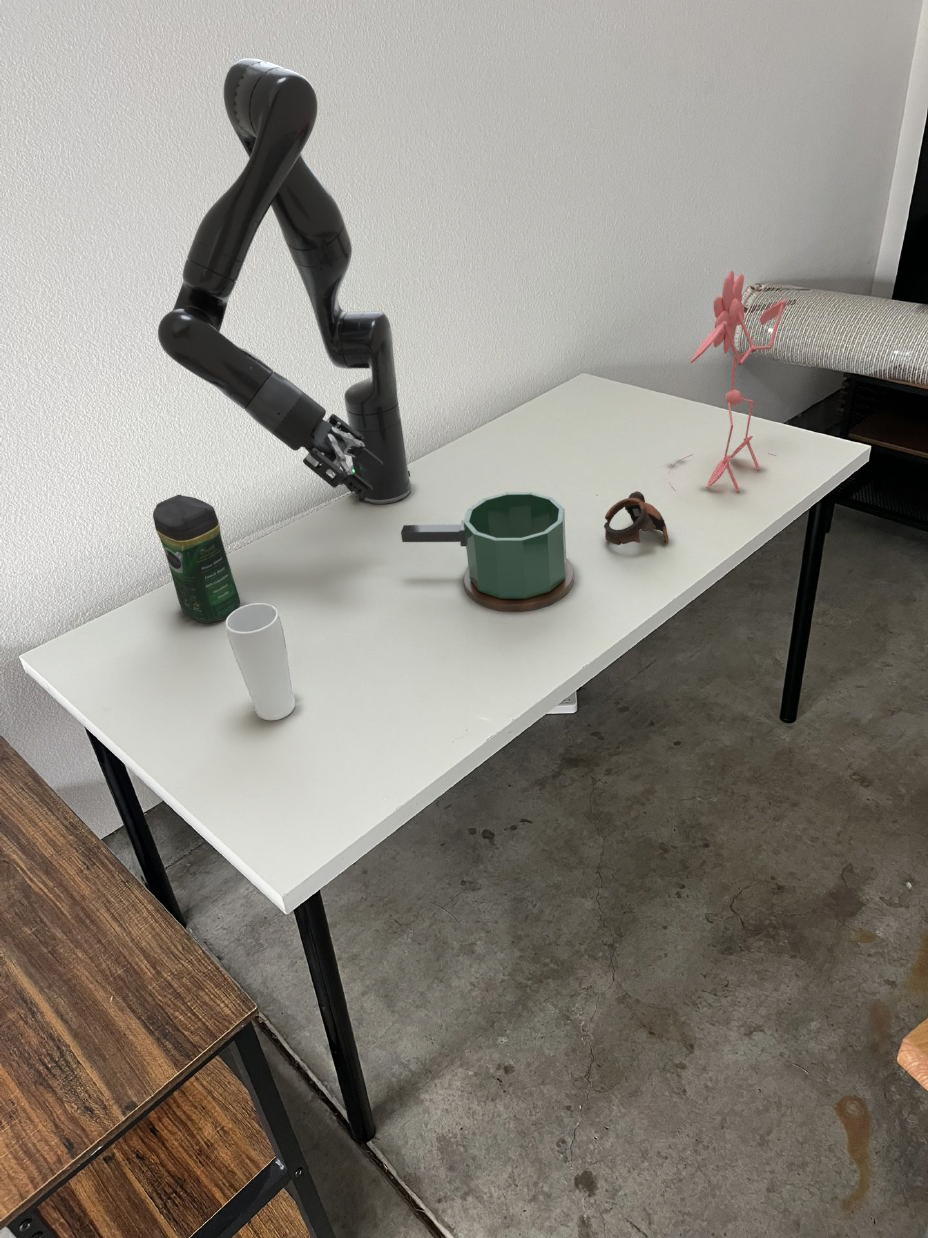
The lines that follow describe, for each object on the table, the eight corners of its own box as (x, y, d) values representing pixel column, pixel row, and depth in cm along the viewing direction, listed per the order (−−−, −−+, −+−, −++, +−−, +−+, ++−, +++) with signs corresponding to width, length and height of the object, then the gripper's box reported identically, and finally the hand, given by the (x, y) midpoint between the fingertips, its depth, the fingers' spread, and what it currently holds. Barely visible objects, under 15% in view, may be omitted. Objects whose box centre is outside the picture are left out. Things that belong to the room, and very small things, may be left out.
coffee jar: (250, 607, 149) (222, 501, 138) (207, 631, 144) (174, 523, 134) (216, 587, 155) (186, 484, 144) (174, 609, 150) (140, 505, 140)
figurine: (781, 451, 175) (802, 254, 155) (723, 513, 159) (739, 301, 139) (703, 437, 183) (713, 247, 163) (640, 494, 167) (643, 291, 147)
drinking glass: (253, 696, 130) (227, 605, 122) (302, 690, 130) (280, 599, 122) (248, 729, 125) (221, 636, 116) (300, 722, 125) (276, 629, 116)
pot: (568, 547, 151) (566, 491, 146) (562, 599, 140) (560, 540, 134) (417, 548, 156) (409, 493, 150) (399, 598, 144) (390, 541, 138)
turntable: (460, 614, 142) (460, 607, 141) (467, 554, 156) (466, 548, 155) (576, 609, 140) (575, 602, 139) (572, 549, 154) (572, 542, 153)
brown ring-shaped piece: (675, 555, 150) (653, 523, 145) (621, 576, 154) (597, 545, 149) (668, 503, 158) (647, 470, 153) (616, 524, 162) (594, 493, 157)
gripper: (287, 411, 129) (381, 485, 134) (311, 374, 141) (397, 443, 146) (257, 449, 133) (350, 520, 138) (283, 410, 144) (368, 476, 149)
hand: (374, 480), depth 142 cm, fingers open, 8 cm apart
